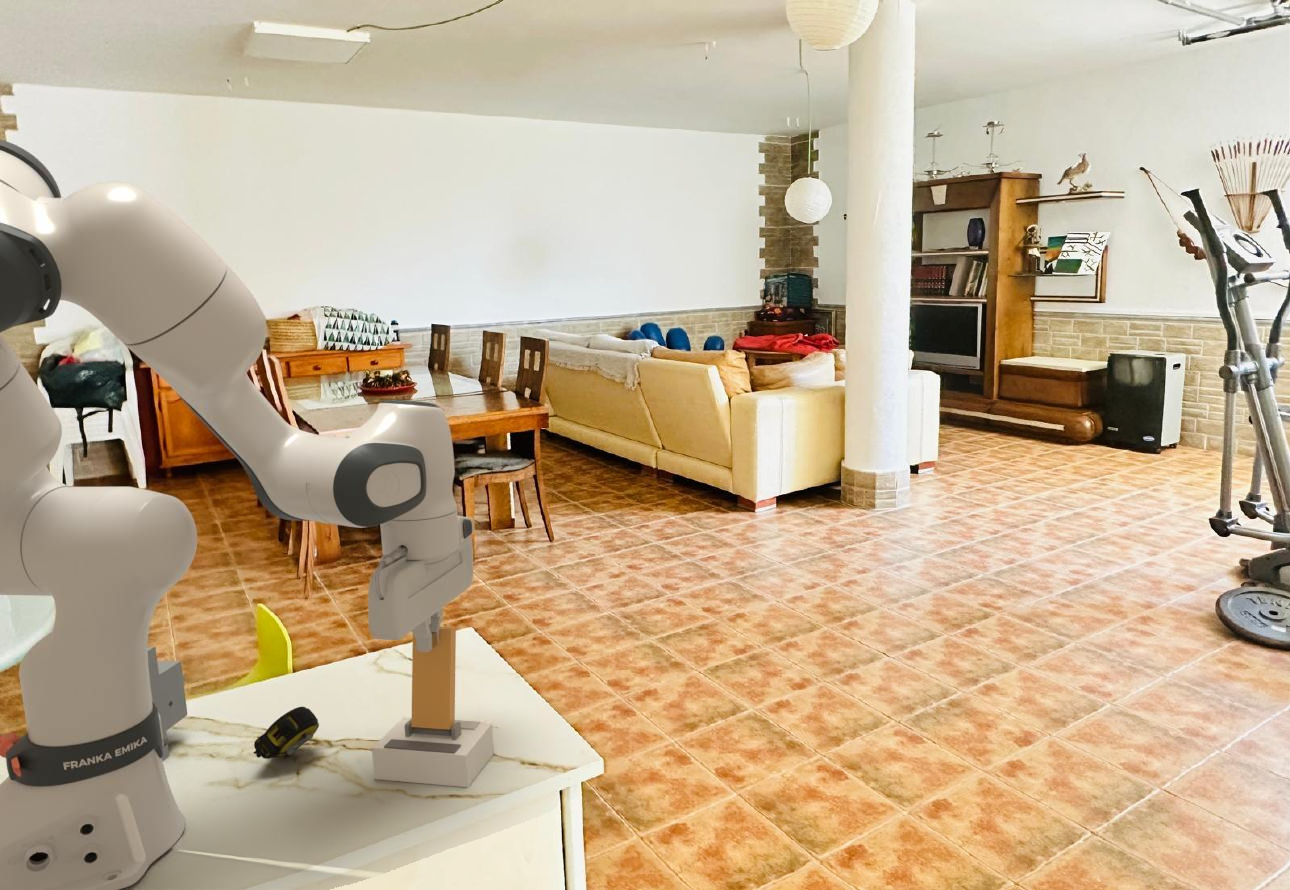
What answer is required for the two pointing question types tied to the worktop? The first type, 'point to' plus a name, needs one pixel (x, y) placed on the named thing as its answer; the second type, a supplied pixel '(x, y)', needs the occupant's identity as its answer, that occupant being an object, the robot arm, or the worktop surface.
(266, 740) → the tape measure
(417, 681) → the lever
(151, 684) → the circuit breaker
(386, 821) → the worktop surface
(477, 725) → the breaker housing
